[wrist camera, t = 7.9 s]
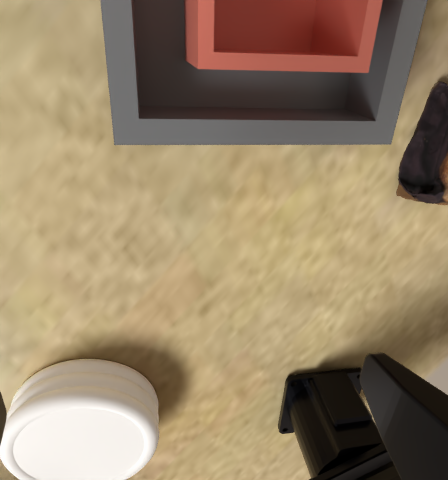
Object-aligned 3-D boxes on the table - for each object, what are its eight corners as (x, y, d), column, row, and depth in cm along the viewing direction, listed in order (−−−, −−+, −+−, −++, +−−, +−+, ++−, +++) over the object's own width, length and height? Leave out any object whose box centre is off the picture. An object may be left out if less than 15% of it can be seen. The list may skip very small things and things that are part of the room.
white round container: (132, 454, 31) (131, 500, 28) (-1, 440, 27) (-19, 491, 24) (178, 369, 27) (182, 411, 24) (31, 341, 24) (13, 386, 21)
